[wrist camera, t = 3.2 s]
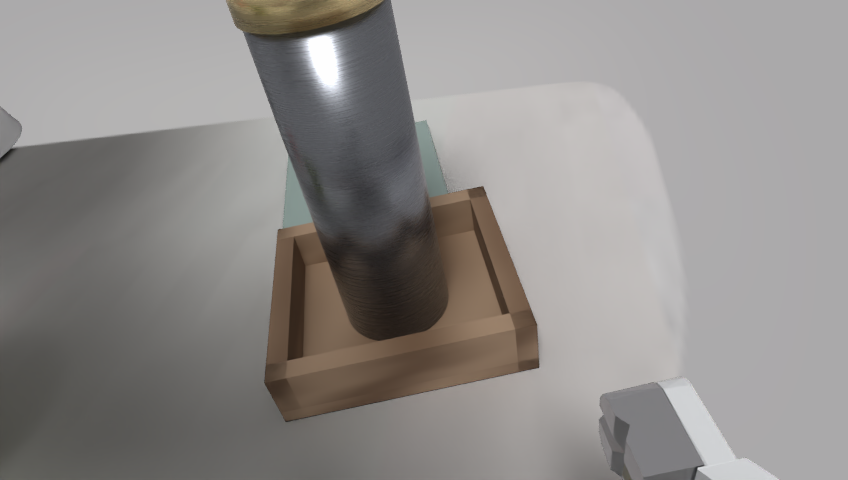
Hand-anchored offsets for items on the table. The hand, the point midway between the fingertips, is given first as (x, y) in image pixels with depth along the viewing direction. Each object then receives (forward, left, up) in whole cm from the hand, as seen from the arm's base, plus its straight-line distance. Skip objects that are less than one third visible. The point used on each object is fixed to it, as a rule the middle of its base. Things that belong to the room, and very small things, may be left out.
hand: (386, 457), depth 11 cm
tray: (0, +12, -9) cm, 15 cm away
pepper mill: (0, +12, -8) cm, 15 cm away
